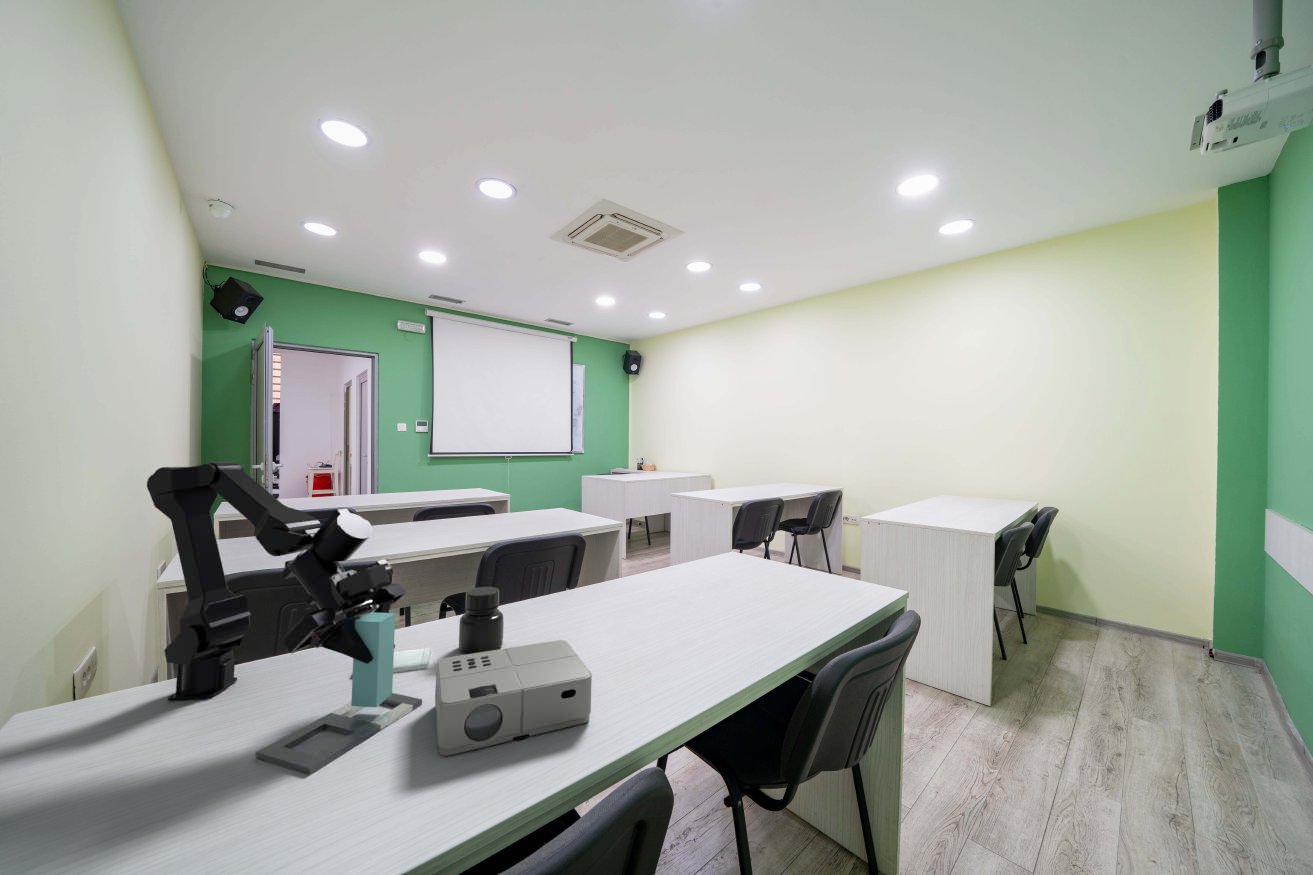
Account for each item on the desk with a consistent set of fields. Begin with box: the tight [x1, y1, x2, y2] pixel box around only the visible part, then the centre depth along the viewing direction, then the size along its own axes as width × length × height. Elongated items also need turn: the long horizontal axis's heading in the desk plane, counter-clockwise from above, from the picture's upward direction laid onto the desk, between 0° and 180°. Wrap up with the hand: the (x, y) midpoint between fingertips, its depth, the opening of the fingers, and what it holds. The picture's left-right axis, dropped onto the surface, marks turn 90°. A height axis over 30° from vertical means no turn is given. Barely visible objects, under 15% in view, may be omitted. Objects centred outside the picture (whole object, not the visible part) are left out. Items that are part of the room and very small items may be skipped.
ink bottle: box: [458, 586, 504, 655], centre depth 102 cm, size 10×9×12 cm
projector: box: [434, 639, 593, 757], centre depth 76 cm, size 17×22×8 cm
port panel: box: [255, 692, 423, 776], centre depth 71 cm, size 18×10×1 cm, turn 162°
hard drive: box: [393, 647, 432, 674], centre depth 93 cm, size 2×8×12 cm
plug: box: [351, 612, 396, 708], centre depth 76 cm, size 4×4×13 cm
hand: (381, 655), depth 75 cm, fingers closed on plug, 4 cm apart
